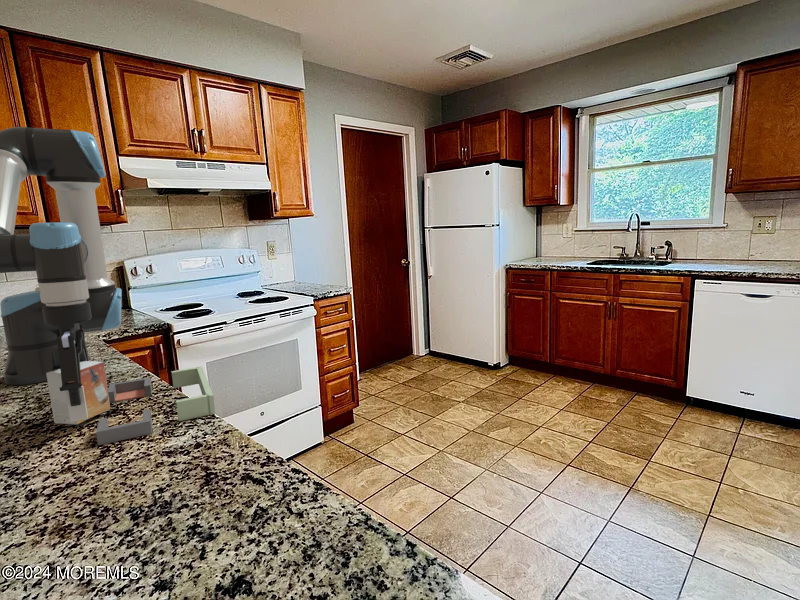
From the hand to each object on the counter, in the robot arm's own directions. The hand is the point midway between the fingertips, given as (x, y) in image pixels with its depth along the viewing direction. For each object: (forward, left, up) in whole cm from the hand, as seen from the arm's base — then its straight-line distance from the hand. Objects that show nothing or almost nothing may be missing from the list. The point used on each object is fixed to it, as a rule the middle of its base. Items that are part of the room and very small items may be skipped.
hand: (82, 410), depth 88 cm
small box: (0, 0, -1) cm, 1 cm away
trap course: (0, +14, -2) cm, 14 cm away
